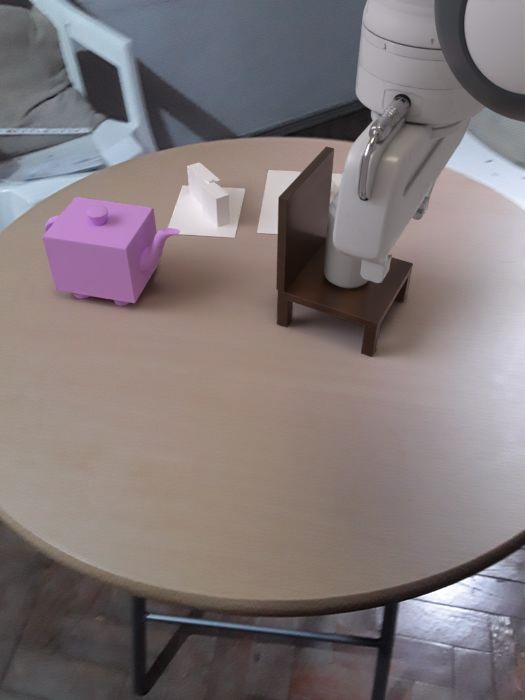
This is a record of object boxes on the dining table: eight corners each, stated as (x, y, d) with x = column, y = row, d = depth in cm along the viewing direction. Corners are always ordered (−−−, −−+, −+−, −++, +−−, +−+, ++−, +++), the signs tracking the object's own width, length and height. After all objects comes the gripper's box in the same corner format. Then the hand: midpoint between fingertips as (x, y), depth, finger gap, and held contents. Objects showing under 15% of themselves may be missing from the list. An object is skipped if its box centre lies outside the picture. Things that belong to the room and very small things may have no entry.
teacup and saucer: (335, 185, 119) (337, 164, 117) (334, 210, 114) (336, 189, 111) (285, 183, 120) (286, 162, 117) (282, 207, 114) (282, 186, 112)
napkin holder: (181, 185, 120) (178, 155, 116) (245, 188, 119) (245, 158, 115) (165, 234, 109) (162, 203, 105) (236, 237, 108) (235, 206, 104)
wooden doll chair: (406, 296, 98) (431, 172, 84) (372, 357, 89) (393, 229, 75) (316, 268, 103) (326, 146, 89) (275, 323, 94) (278, 197, 80)
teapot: (42, 295, 98) (21, 222, 89) (73, 254, 105) (56, 182, 96) (174, 318, 94) (165, 244, 86) (196, 274, 101) (190, 201, 93)
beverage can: (351, 298, 88) (361, 220, 80) (313, 277, 91) (318, 199, 83) (380, 276, 92) (392, 198, 83) (342, 256, 95) (350, 180, 86)
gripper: (421, 149, 37) (388, 334, 47) (508, 29, 50) (467, 193, 60) (316, 124, 39) (304, 306, 49) (425, 14, 52) (399, 176, 62)
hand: (395, 243), depth 54 cm, fingers open, 8 cm apart
